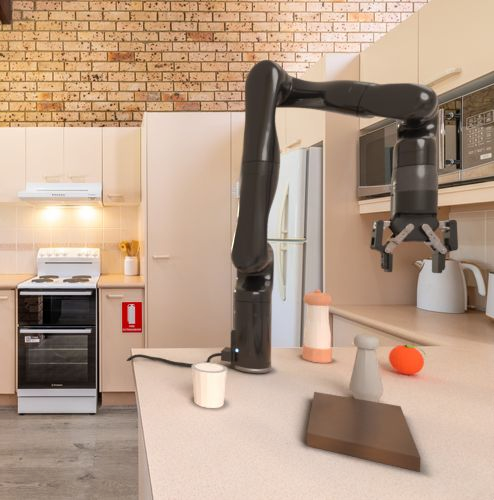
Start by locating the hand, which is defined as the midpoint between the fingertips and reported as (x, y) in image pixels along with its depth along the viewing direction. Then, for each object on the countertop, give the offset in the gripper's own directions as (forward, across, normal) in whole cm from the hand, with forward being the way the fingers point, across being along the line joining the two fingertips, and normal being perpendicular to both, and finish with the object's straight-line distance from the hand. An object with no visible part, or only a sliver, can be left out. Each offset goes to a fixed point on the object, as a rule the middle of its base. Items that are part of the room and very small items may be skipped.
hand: (411, 272), depth 78 cm
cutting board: (+26, +15, +16) cm, 34 cm away
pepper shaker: (+26, +10, -28) cm, 40 cm away
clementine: (+26, -8, -20) cm, 34 cm away
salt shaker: (+26, +8, +2) cm, 27 cm away
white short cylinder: (+26, +39, +10) cm, 48 cm away
